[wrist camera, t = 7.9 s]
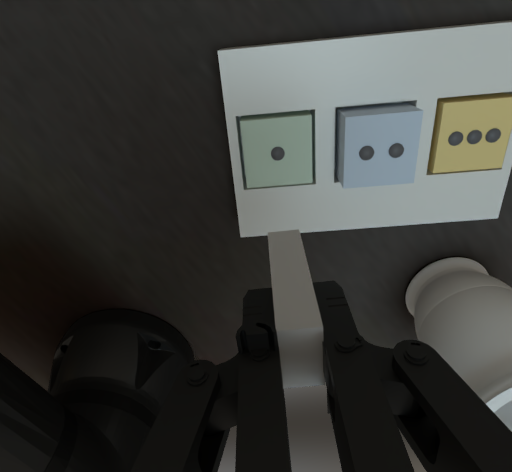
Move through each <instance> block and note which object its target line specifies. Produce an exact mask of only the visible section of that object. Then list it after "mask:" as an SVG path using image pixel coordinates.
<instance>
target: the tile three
mask: <svg viewBox="0 0 512 472" xmlns="http://www.w3.org/2000/svg"><path fill="white" fill-rule="evenodd" d="M511 128H512V95H511V94H507V93H503V92H501V93H490V94H479V95H468V96H457V97H446V98H438V99H437V106H436V113H435V119H434V126H433V133H432V140H431V146H430V153H429V160H428V167H427V169H428V170H430V171H431V172H432V173H442V172H455V171H467V170H480V169H492V168H502V164H503V160H504V156H505V152H506V148H507V144H508V140H509V136H510V132H511Z"/></svg>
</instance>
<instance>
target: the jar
mask: <svg viewBox="0 0 512 472" xmlns="http://www.w3.org/2000/svg"><path fill="white" fill-rule="evenodd" d="M405 300H406V306H407V308H408V310H409V312H410V313H411V315H412V316H413V317H414V324H415V330H416V334H417V338H418V341H421V342H423V343H426V344H428V345H429V346H431V347H432V348H433V349H435V350H436V351H437V353H438V354H439V355H440V356H441V357H442V358H443V359H444V360H445V361H446V362H447V363H448V364H449V365H450V366H451V367H452V369H453V370H454V371H455V372H456V373H457V374H458V375H459V376H460V377H461V378H462V379H463V380H464V381H465V382H466V383H467V385H468V386H469V387H470V388H471V389H472V390H473V391H474V392H475V393H476V394H477V395H478V396H479V397H480V398H481V399H482V401H483V402H484V403H485V404H486V405H487V406H488V407H489V408H490V409H491V410H492V411H493V412H494V413H495V414H496V416H497V417H498V418H499V419H500V420H501V421H502V422H503V423H504V424H505V425H506V426H507V427H508V428H509V429H510V430H511V432H512V288H511V287H510V286H508V285H507V284H505V283H504V282H502V281H500V280H498V279H496V278H494V277H492V276H489V274H488V272H487V271H486V269H485V268H484V267H483V266H482V265H481V264H479V263H478V262H476V261H474V260H471V259H468V258H462V257H452V258H446V259H442V260H439V261H436V262H434V263H432V264H430V265H428V266H426V267H425V268H423V269H422V270H421V271H420V272H419V273H417V274H416V276H415V277H414V278H413V279H412V281H411V282H410V284H409V286H408V288H407V291H406V297H405Z"/></svg>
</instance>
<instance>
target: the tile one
mask: <svg viewBox="0 0 512 472" xmlns="http://www.w3.org/2000/svg"><path fill="white" fill-rule="evenodd" d="M240 126H241V136H242V145H243V154H244V164H245V173H246V183H247V188H255V187H268V186H280V185H293V184H305V183H312V115H311V113H310V112H309V110H300V111H289V112H278V113H267V114H256V115H244V116H241V119H240Z"/></svg>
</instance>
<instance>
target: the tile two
mask: <svg viewBox="0 0 512 472" xmlns="http://www.w3.org/2000/svg"><path fill="white" fill-rule="evenodd" d="M422 118H423V110H421V109H419V108H417V107H415V106H413V105H411V104H409V103H396V104H385V105H374V106H362V107H351V108H340V109H337V126H336V176H337V178H338V180H339V182H340V184H341V185H342V187H343V189H346V188H358V187H371V186H383V185H396V184H409V183H414V178H415V171H416V163H417V156H418V148H419V140H420V133H421V125H422Z"/></svg>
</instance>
